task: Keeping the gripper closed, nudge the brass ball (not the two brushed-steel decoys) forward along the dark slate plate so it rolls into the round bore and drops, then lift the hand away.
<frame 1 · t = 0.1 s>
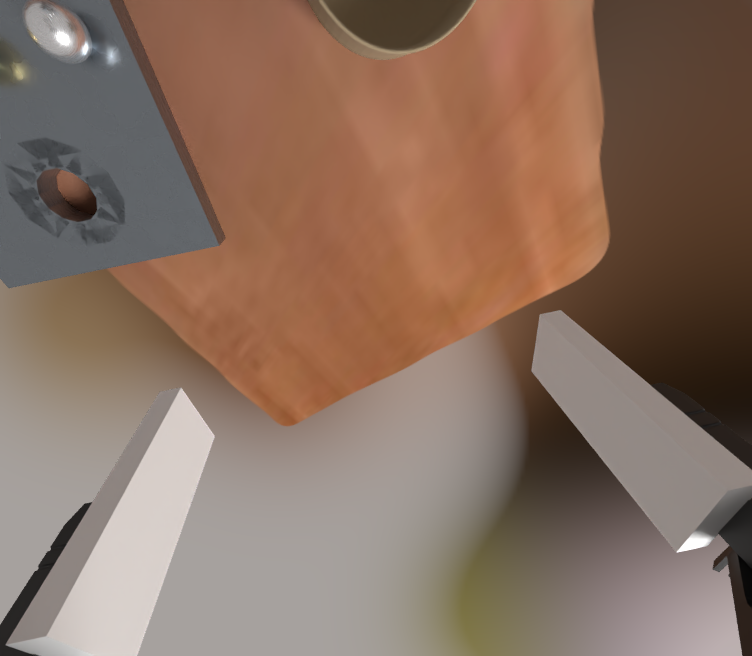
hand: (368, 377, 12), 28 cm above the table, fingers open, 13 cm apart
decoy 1: (58, 31, 23), point 4 cm above the table, touching plate
plate: (47, 132, 29), on the table
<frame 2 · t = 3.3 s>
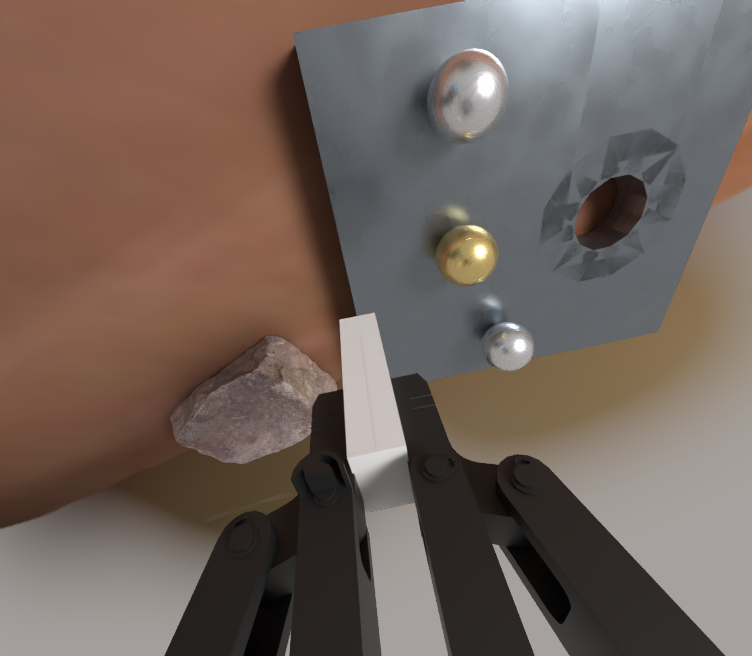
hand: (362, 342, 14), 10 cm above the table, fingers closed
stone: (262, 387, 28), on the table
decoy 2: (506, 346, 23), point 4 cm above the table, touching plate
brass ball: (466, 256, 19), point 4 cm above the table, touching plate
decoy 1: (466, 99, 15), point 4 cm above the table, touching plate
plate: (514, 219, 22), on the table
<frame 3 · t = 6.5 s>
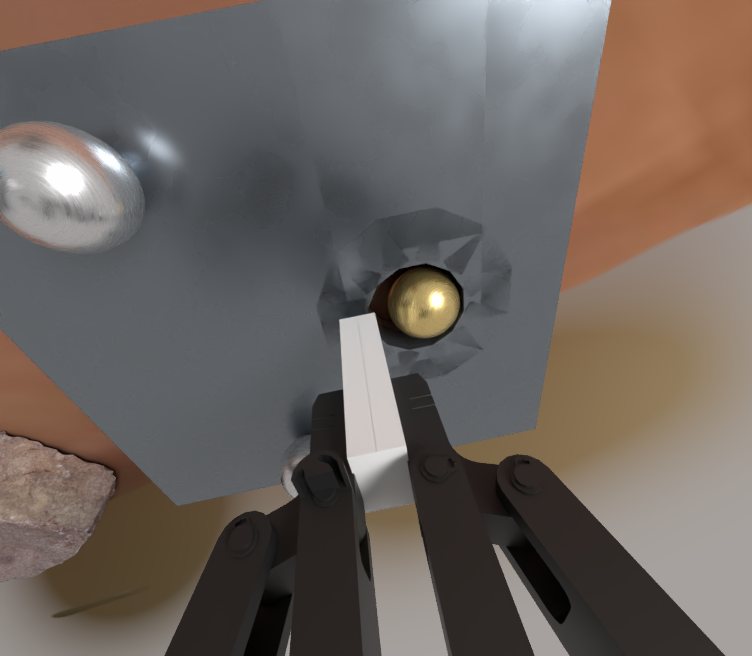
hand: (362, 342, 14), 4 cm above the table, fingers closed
stone: (37, 483, 23), on the table
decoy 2: (312, 467, 18), point 4 cm above the table, touching plate
brass ball: (423, 302, 16), point 2 cm above the table, tilted 26°
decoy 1: (71, 192, 9), point 4 cm above the table, touching plate
plate: (314, 305, 17), on the table
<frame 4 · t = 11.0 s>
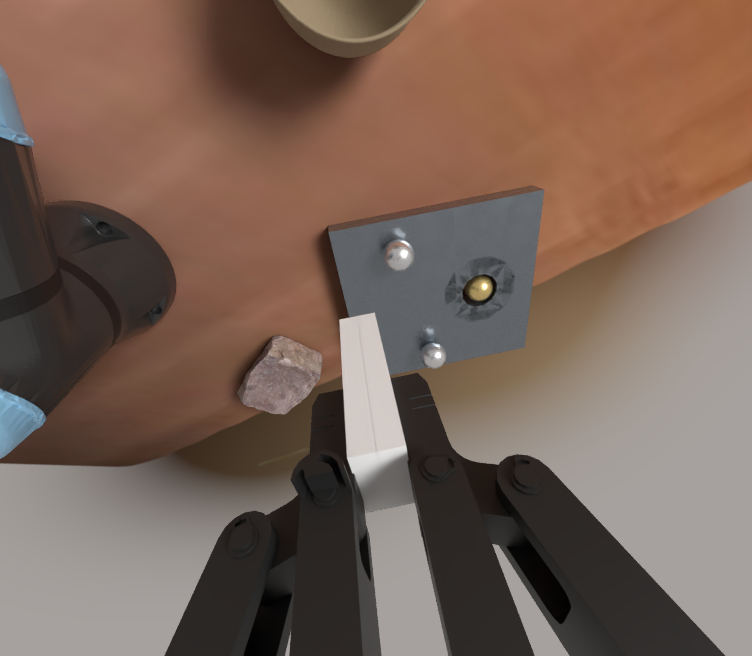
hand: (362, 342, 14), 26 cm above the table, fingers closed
stone: (283, 367, 48), on the table
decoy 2: (433, 355, 44), point 4 cm above the table, touching plate
brass ball: (478, 287, 42), point 2 cm above the table, tilted 20°
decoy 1: (398, 255, 36), point 4 cm above the table, touching plate
plate: (436, 289, 43), on the table
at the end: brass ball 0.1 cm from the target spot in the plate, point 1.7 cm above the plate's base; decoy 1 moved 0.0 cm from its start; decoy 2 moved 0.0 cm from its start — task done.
